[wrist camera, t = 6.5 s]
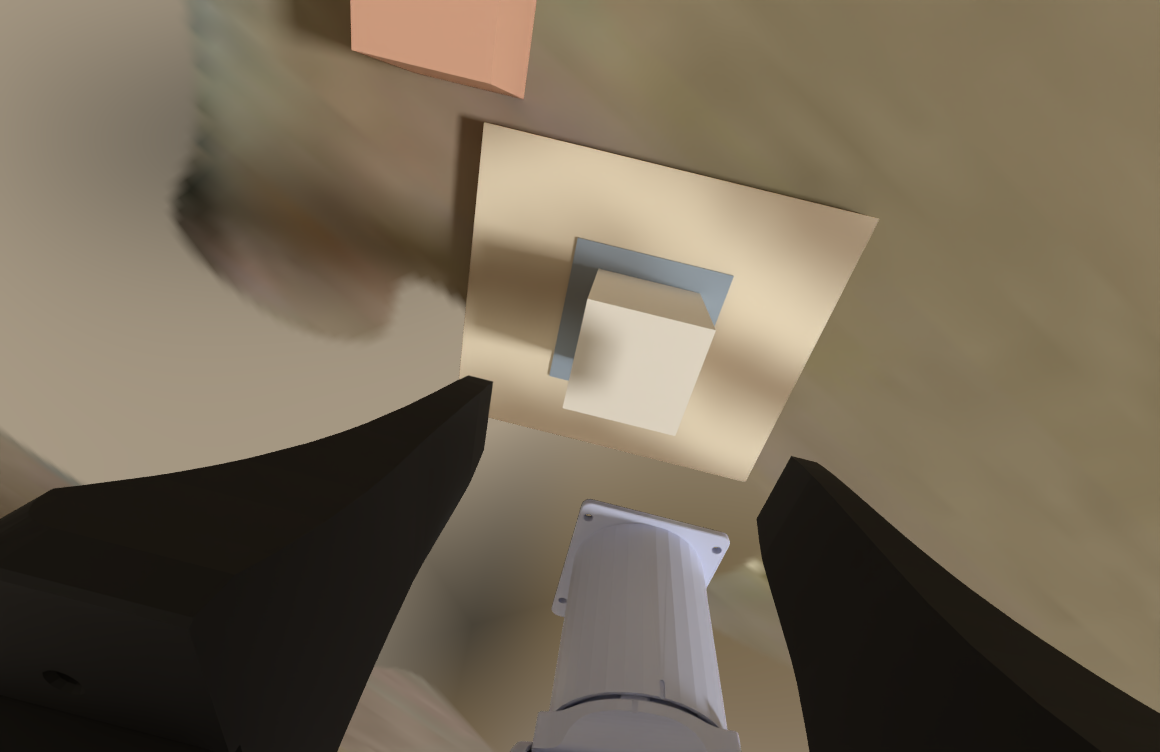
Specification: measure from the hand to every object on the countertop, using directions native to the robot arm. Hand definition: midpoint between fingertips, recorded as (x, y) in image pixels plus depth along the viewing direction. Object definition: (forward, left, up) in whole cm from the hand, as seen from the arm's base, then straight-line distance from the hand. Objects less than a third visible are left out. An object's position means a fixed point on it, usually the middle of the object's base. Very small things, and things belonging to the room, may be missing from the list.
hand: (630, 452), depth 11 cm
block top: (+9, +8, -10) cm, 15 cm away
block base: (0, 0, -8) cm, 8 cm away
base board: (0, 0, -9) cm, 9 cm away
